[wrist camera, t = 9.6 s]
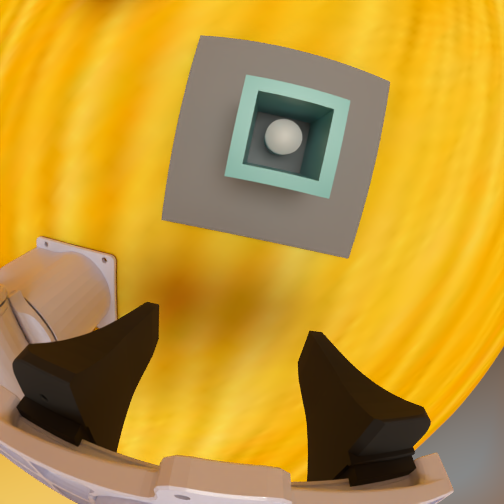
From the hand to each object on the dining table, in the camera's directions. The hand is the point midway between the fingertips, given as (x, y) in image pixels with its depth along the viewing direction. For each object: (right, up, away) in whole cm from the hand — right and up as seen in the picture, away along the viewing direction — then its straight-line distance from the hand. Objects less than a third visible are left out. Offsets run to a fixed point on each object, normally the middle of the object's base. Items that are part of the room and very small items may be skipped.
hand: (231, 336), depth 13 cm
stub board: (+3, +12, +6) cm, 13 cm away
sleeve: (+3, +11, +5) cm, 12 cm away
